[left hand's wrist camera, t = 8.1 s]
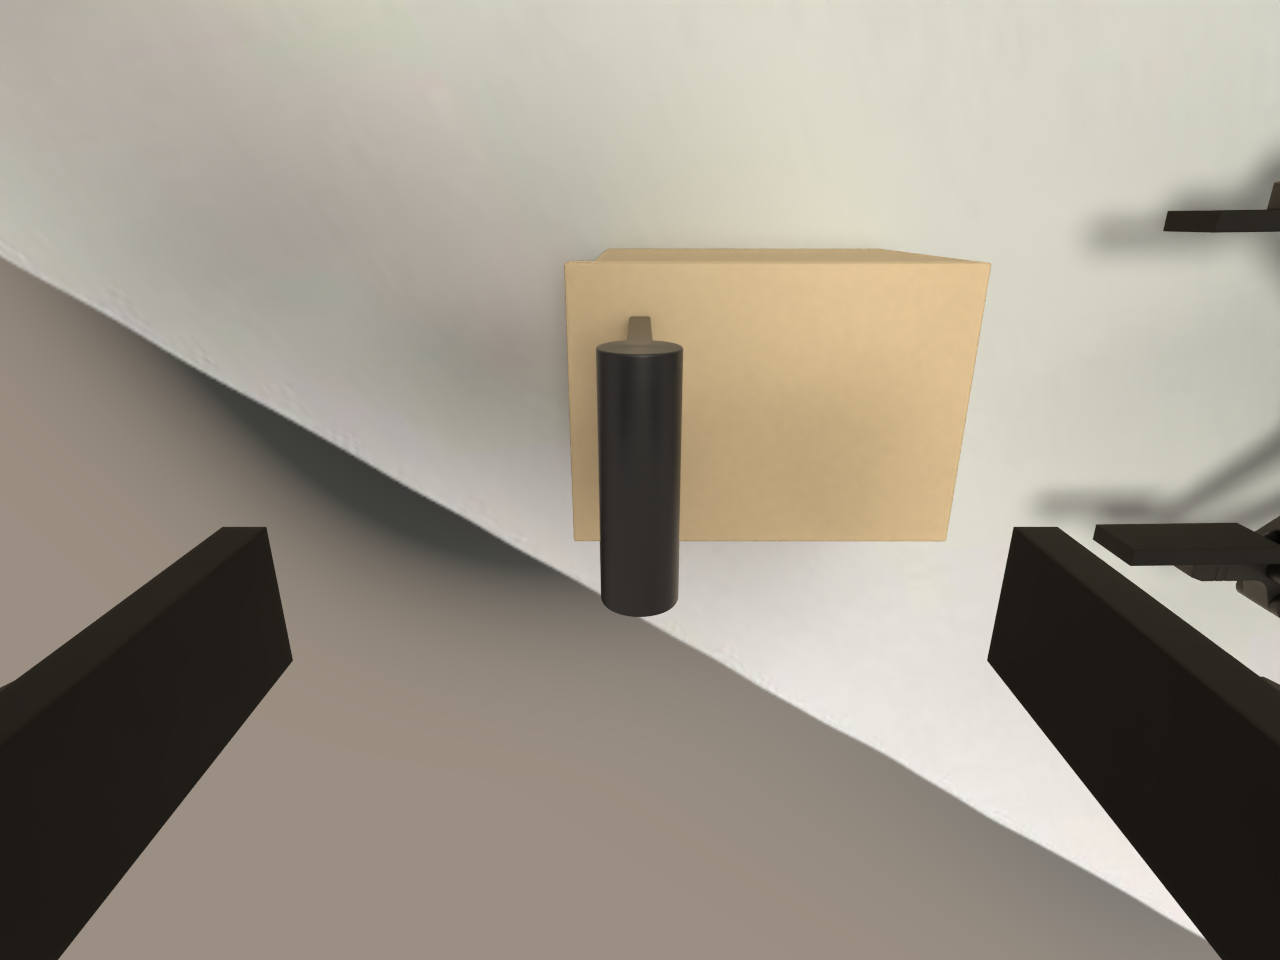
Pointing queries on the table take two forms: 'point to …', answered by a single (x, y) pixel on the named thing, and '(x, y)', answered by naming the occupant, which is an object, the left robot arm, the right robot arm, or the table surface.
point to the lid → (763, 406)
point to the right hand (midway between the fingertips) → (1147, 395)
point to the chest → (764, 255)
